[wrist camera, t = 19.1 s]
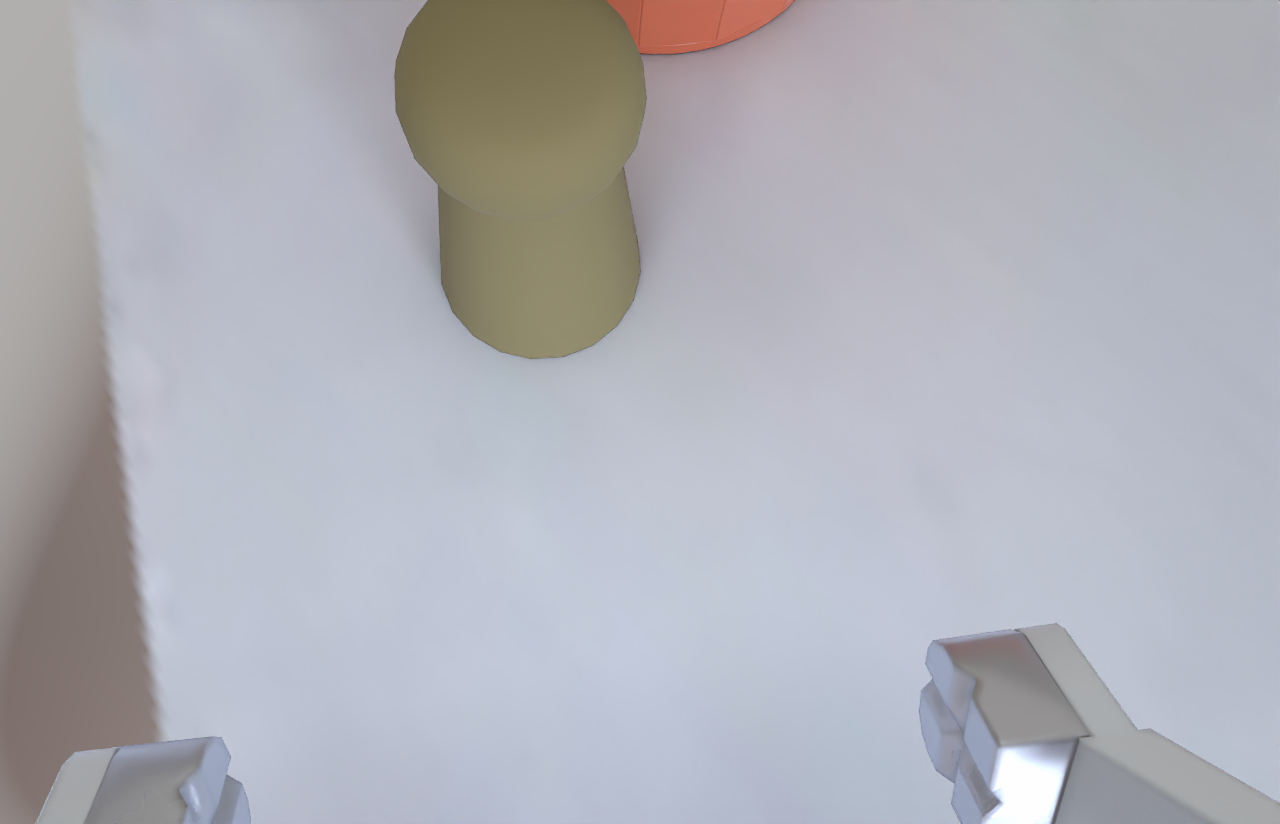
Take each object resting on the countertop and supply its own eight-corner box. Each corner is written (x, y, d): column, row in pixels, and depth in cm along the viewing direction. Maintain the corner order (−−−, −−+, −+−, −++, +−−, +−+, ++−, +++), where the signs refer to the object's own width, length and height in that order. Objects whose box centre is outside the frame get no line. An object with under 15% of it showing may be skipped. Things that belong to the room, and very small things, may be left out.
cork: (678, 295, 29) (733, 94, 19) (504, 396, 28) (456, 245, 18) (574, 138, 30) (569, -137, 20) (402, 230, 29) (299, -8, 19)
